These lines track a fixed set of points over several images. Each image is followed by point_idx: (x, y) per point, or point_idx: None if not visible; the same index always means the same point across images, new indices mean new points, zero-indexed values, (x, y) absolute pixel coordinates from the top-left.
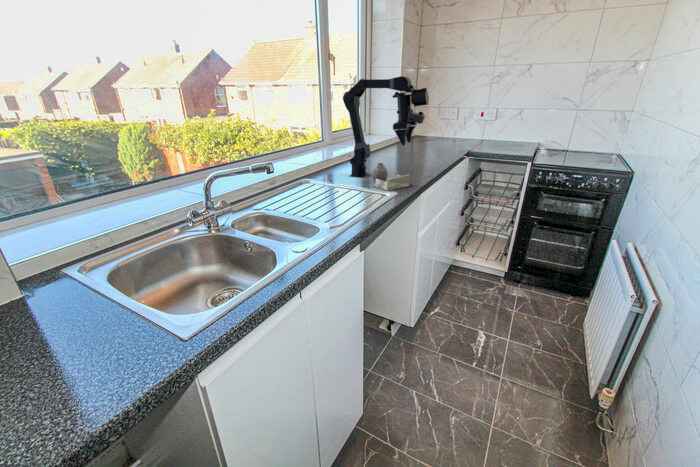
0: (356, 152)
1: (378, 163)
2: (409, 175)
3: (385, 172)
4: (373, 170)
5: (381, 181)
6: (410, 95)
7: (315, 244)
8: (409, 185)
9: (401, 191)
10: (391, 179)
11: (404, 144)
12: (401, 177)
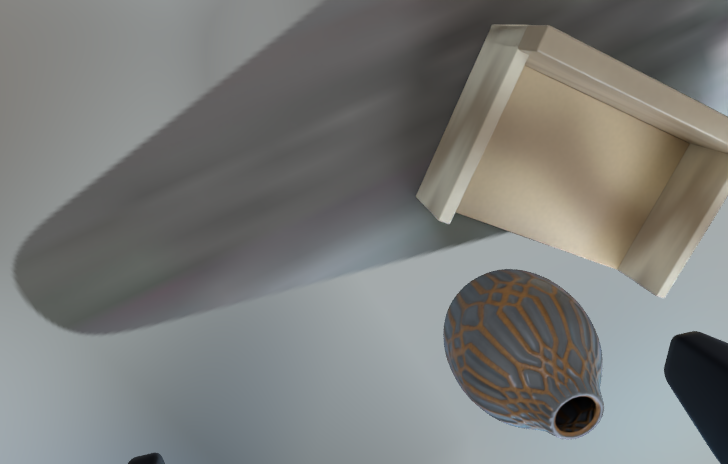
0: None
1: (574, 433)
2: (559, 32)
3: (558, 301)
4: (560, 412)
5: (703, 225)
6: None
7: None
8: (496, 26)
9: (690, 17)
10: None
11: (709, 340)
12: (656, 82)
